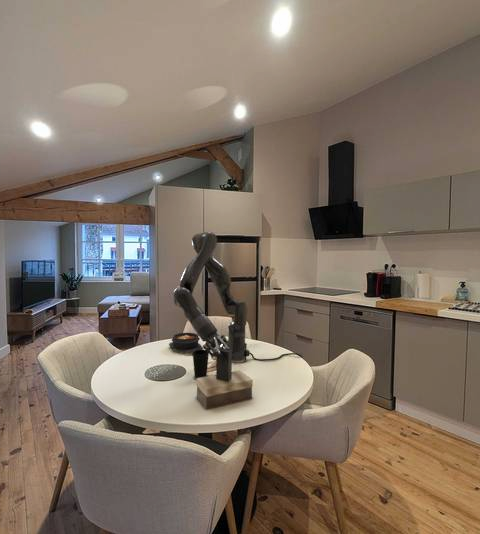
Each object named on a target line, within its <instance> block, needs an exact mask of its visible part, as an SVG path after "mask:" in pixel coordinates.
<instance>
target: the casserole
mask: <svg viewBox="0 0 480 534" xmlns="http://www.w3.org/2000/svg"><path fill="white" fill-rule="evenodd" d="M200 340H201V338H200V337H199V335H198V334H197V333H196V332H195V333H194V332H180V333H175V334H173V336H172V338H171V342H170V343H168V345H169V347H170V349H171V350H172V351H176V352H180V353H188V354H189V353H193V351H195V350H204V348H203V345H202V344H201V343H199V341H200Z"/></svg>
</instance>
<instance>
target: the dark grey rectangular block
mask: <svg viewBox="0 0 480 534" xmlns="http://www.w3.org/2000/svg"><path fill="white" fill-rule="evenodd" d="M219 351H220V354H222V355H223V357H224V358H225V359H226V362H225V363H224V364H222V363H221V362H220V361H219V360H218V358H217V357H215V360H216V362H215V365H216V366H215V367H216V369H215V375H216V379H219V380H223V381H227V382H229V381H230V380H231V379H232V372H233V370H232V367H233V365H232V350H228V349H225V348H224V349H222V348H219ZM216 352H217V351H216Z"/></svg>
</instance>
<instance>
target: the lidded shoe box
mask: <svg viewBox="0 0 480 534" xmlns="http://www.w3.org/2000/svg"><path fill="white" fill-rule="evenodd" d="M253 384H254V379H253V378H252V377H250V376H248V375H247V374H246V373H244V372H243V371H242V370H240V369H239V370H235V371H233V370H232V379H231V380H230V381H229V382H227V381H223V380H219V379H216V374H213V375H207V376H206V377H201V378H197V379H196V398H197V400H198V401H199V402H200V404H201V405H202V406H203V408H205V410H209V409H212V408H217V407H222V406H225V405H231V404H234V403H238V402H243V401H247V400H251V399H253V386H254V385H253Z"/></svg>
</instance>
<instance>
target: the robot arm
mask: <svg viewBox="0 0 480 534" xmlns="http://www.w3.org/2000/svg"><path fill="white" fill-rule="evenodd" d="M191 244H192V248H193V249H194V251H195V253H196V255H195V257H194V258H193V259H192V260H191V261H190V262H189V264H187V266H186V268H185V269H184V272H183V273H182V276H181V279H180V284H179V286H178V287H177V288H176V289H175V290H174V291H173V303H174V305H175V306H176V307H177V308H180V309H182V311H183V313H184V316H185V318H186V319H187V321H188V322H189V323H190V325H191V326H192V329H193V330H194V331H195V334H197V335H198V337H199V338H200V340H201V341H202V342H205V343H204V344H203V345H202V347H203V350H206V351H207V352H208V353H209V356H210V357H211V358H213V357H214V358H216V357H217V358H218V360H219V361H220V362H221V363H222V364H224V363H225V362H226V359H225V358H224V357H223V355H222V354H220V351H219V348H222V349H228V350H232V363H233V364H240V363H244V362H245V361H247V358H248V357H250V356H251V357H252V359H253V360H254V361H259V362H264V361H265V362H267V361H276V360H280V359H281V358H282V357H285V356H292V355H293V356H297V357H300V358H303V355H302V354H300V353H297V352H289V353H282V354H280V355H279V356H277V357H273V358H256V357H255V356H254V354H253V353H252V352H251V351H250V350H249V349H247V347H248V346H247V345H248V343H246V327H247V326H246V325H247V320H248V304H247V303H246V301H244V300H241V299H235V298H234V296H233V294H232V292H231V287H232V285H231V284H232V278H231V276H230V274H229V272H228V271H229V270H228V269H227V268H226V266H225V265H223V263H221V262H220V261H219V260H217V259H216V258H215V257H214V255H213V253H214V251H215V250H216V247H217V246H218V237H217V235H216V234H215V233H214V232H212V231H204V232H199V233H196V234H194V235H193V236H192V238H191ZM204 267H205V269H206V271H207V273H208V275H209V277H210V279H211V281H212V283H213V286H214V287H215V289H216V291H217V293H218V295H219V298H220V300H221V303H222V305H223V309H224V311H225V313H226V314H227V315H228V316H230V317H231V316H234V317H235V319H234V322H232V321H231V322H230V323H228V325H227V326H228V327H227V338H226V336H225V334H222V335H219V334H218V328H217V327H216V326H215V325H214V323H213V322H212V321H211V320H210V319H209V317H208V316H207V315H206V313H204V311H203V310H202V308H201V307H200V306H199V305H198V303H197V301H196V299H195V298H194V295H193V293H194V289H195V287H196V285H197V283H198V280H199V278H200V275H201V273H202V271H203V269H204ZM226 344H227V345H226ZM216 351H217V352H216Z"/></svg>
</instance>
